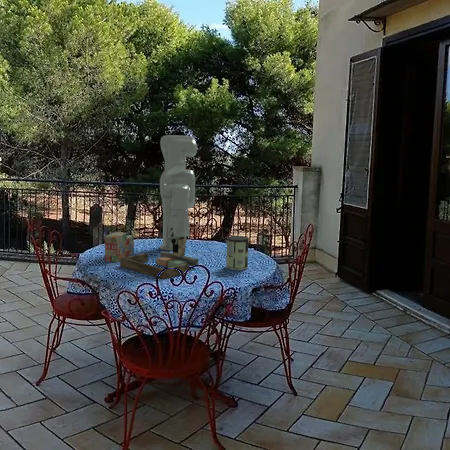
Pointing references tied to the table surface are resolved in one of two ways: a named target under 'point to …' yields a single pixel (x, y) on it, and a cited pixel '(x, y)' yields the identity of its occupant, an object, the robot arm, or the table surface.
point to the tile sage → (176, 263)
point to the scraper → (180, 254)
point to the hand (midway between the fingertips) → (178, 251)
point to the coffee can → (237, 252)
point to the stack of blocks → (118, 246)
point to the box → (149, 266)
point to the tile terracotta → (164, 261)
